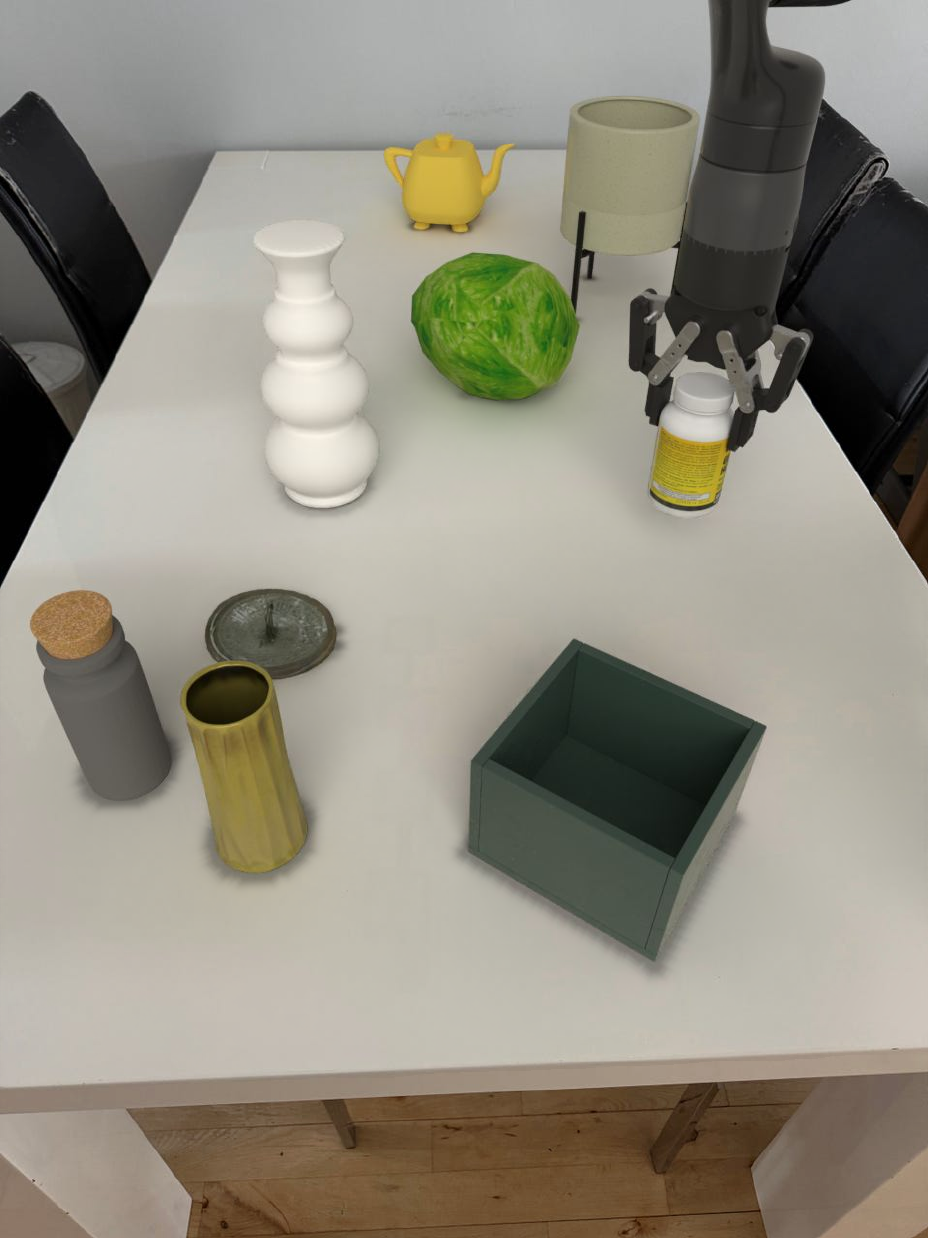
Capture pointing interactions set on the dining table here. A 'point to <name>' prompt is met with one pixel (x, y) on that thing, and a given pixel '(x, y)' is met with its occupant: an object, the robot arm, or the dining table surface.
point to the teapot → (444, 180)
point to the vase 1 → (244, 765)
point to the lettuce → (495, 325)
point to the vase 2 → (313, 372)
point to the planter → (626, 177)
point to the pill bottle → (692, 446)
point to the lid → (272, 631)
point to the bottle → (100, 695)
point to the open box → (610, 792)
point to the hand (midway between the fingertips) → (695, 433)
